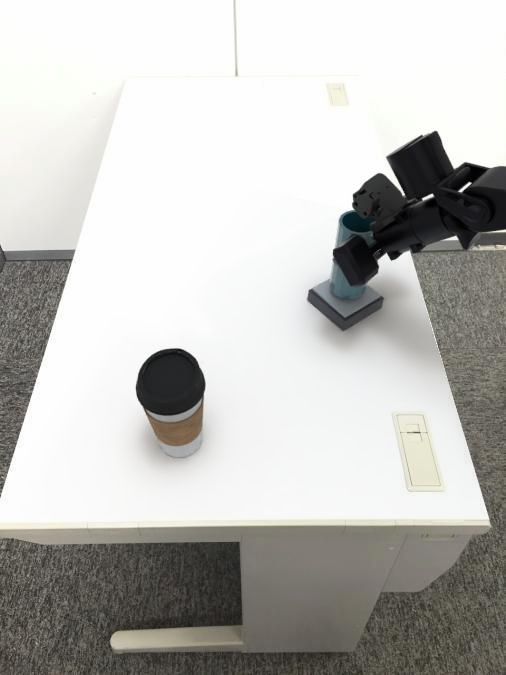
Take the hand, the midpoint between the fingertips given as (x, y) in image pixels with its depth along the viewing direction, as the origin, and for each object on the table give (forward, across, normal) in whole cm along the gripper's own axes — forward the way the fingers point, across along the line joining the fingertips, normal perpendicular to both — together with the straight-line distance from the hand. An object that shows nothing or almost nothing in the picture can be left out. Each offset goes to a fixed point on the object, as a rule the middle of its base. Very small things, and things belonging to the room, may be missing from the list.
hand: (346, 251), depth 84 cm
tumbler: (+4, 0, +6) cm, 7 cm away
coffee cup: (+7, +37, +8) cm, 38 cm away
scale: (+7, 0, +8) cm, 11 cm away
